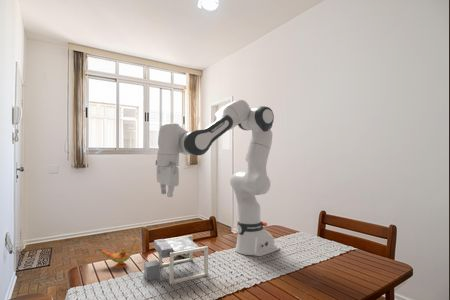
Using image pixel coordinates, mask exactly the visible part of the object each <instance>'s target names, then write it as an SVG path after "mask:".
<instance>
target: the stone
mask: <svg viewBox="0 0 450 300" xmlns="http://www.w3.org/2000/svg"><path fill="white" fill-rule="evenodd" d="M143 275H144V278H145V280H146V281H150V280H156V279H159V278H161V267H160V264H159V260H157V259H154V260H150V261H144V262H143Z"/></svg>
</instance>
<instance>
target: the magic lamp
mask: <svg viewBox="0 0 450 300" xmlns="http://www.w3.org/2000/svg"><path fill="white" fill-rule="evenodd" d="M132 243H133V244H132V247H131V249H130V251H126V249H125V248H124V247H122V249H121V250H120V251H119V252H116V253H115V252H109V251H106V250H105V249H101V248H98V249H96V251H98V252H99V253H101V254H102V255H103V256H105V257H106V258H107V259H109V260H111V261H113V262H114V263H117V264H115V265H113V266H114V269H122V268H126V267H127V266H128V264H127V263H125V262H126V261H127V260H129V261H131V259H130V257H131V256H133V255H135V254H137V252H138V251H139V248H138V246H137V245H136V244H137V241H136V240H133V242H132ZM134 246H135V248H136V250H135V252H133V249H134ZM132 252H133V253H132ZM130 253H131V254H130Z"/></svg>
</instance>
